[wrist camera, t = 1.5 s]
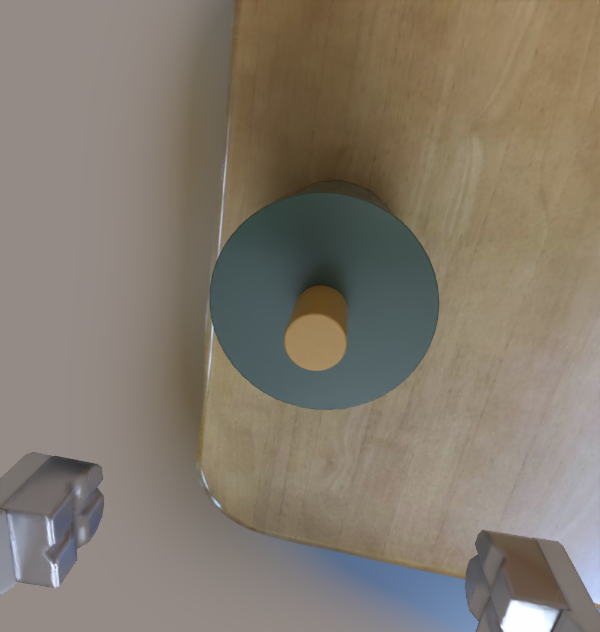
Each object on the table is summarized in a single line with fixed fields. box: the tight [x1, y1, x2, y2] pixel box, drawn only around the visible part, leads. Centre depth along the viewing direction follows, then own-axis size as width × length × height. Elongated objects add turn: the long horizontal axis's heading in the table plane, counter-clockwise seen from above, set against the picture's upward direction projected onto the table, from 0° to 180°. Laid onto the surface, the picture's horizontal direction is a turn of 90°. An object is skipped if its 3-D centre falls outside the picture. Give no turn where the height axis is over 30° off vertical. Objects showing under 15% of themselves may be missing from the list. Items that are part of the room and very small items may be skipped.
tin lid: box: [210, 191, 439, 410], centre depth 21 cm, size 11×11×5 cm
